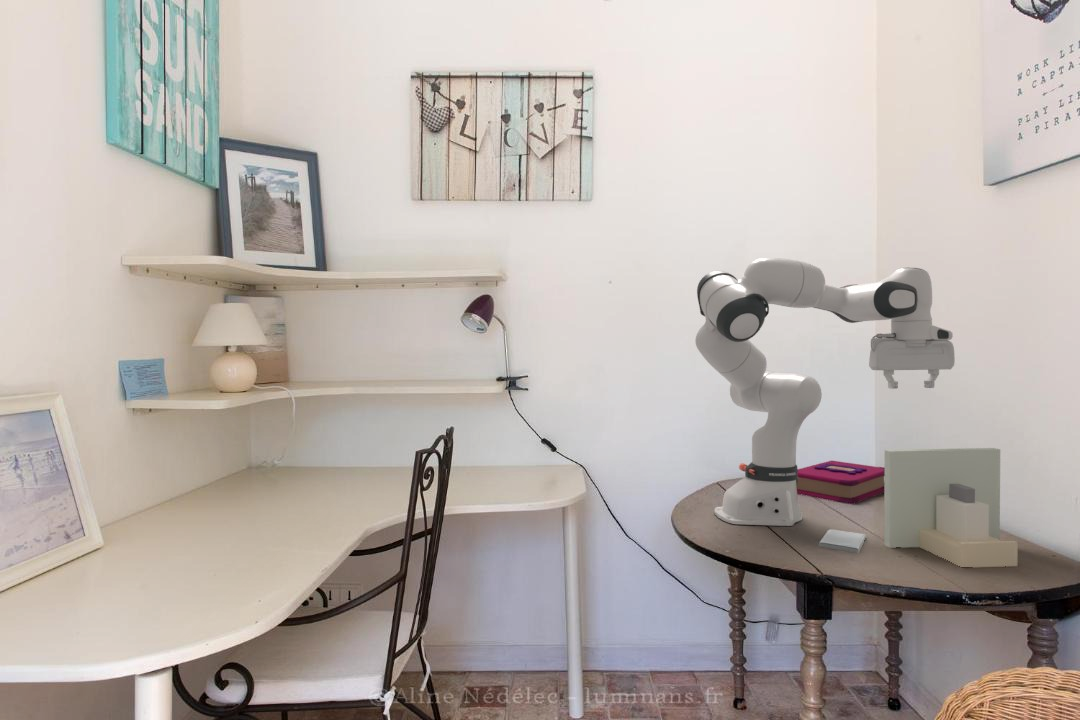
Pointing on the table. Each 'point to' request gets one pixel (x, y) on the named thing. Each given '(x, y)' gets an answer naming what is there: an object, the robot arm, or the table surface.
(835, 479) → the book
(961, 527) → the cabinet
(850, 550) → the hard drive
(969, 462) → the board
